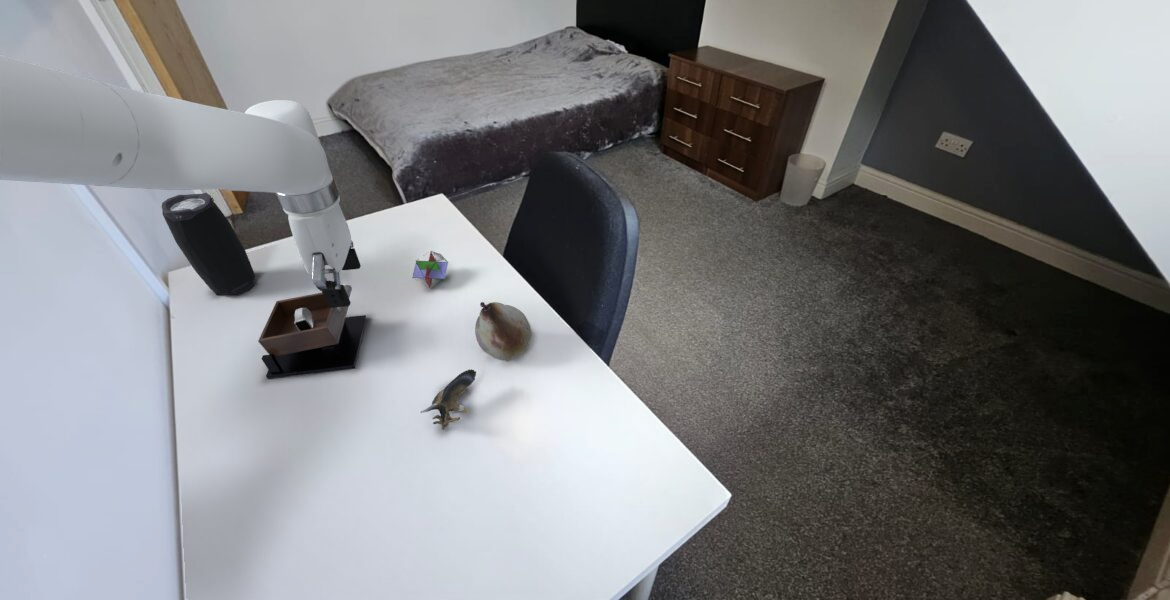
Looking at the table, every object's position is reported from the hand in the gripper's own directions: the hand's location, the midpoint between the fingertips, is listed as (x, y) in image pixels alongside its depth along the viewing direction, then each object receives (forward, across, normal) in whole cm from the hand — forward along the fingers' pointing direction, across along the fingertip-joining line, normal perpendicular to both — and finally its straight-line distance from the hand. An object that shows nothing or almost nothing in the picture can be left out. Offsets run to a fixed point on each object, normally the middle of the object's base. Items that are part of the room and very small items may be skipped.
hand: (346, 286), depth 78 cm
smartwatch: (+8, +1, -8) cm, 11 cm away
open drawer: (+9, 0, -7) cm, 11 cm away
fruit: (+13, +6, +25) cm, 29 cm away
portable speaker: (+13, -21, -29) cm, 38 cm away
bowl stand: (+13, 0, -8) cm, 15 cm away
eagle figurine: (+13, +18, +16) cm, 28 cm away
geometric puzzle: (+13, -16, +11) cm, 23 cm away
